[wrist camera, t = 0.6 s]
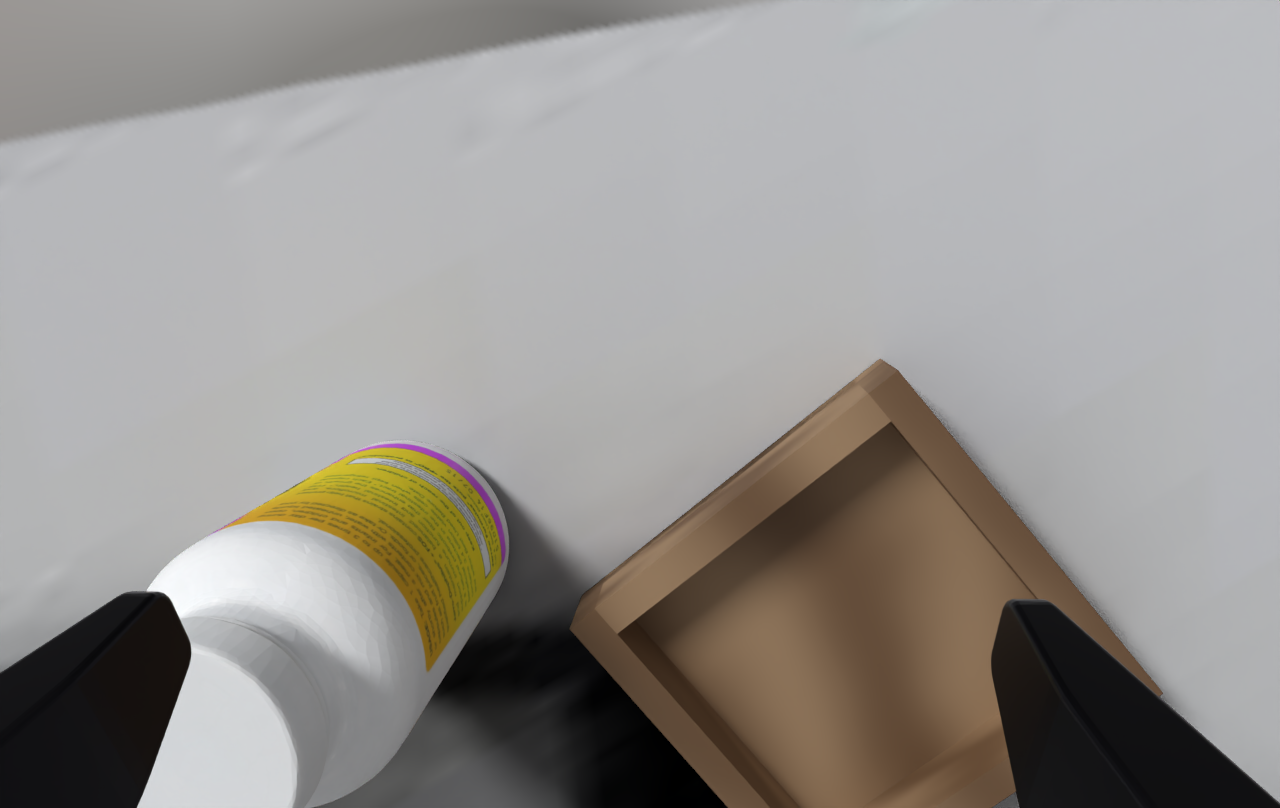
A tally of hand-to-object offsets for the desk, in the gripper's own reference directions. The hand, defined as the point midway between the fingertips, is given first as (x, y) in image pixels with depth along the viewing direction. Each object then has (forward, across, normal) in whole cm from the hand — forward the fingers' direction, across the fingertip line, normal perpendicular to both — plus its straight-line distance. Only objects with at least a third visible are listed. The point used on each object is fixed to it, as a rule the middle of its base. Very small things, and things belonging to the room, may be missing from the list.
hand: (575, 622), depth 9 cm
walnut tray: (+13, -6, +14) cm, 20 cm away
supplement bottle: (+15, +8, +12) cm, 21 cm away
